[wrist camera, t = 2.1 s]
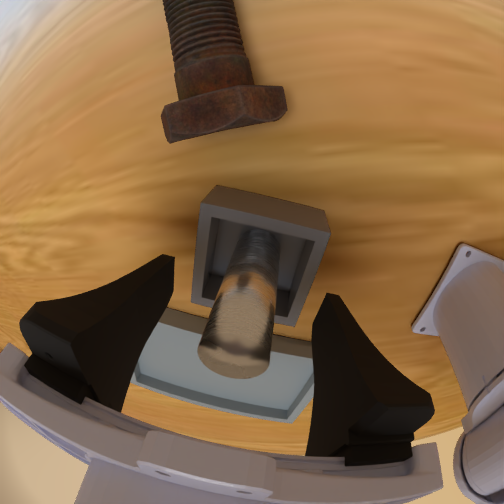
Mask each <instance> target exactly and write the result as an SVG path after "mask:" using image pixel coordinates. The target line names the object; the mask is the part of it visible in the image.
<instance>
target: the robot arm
mask: <svg viewBox="0 0 504 504" xmlns="http://www.w3.org/2000/svg"><path fill="white" fill-rule="evenodd" d="M467 252H468V253H467ZM466 253H467V254H466ZM174 262H175V257H172V256H168V255H164V254H162V255H160V256H158V257H157V258H155V259H153V260H152V261H150V262H148V263H147V264H145V265H143V266H141V267H140V268H138V269H136V270H135V271H133V272H131V273H129V274H127V275H125V276H123V277H121V278H119V279H118V280H116V281H113V282H111V283H109V284H107V285H104V286H102V287H99V288H97V289H94V290H91V291H88V292H85V293H82V294H78V295H75V296H71V297H66V298H61V299H56V300H49V301H41V302H36V303H35V304H34V305H33V306H32V307H31V308H30V310H29V311H28V312H27V313H26V314H25V315H24V316H23V317H22V319H21V320H20V323H19V324H20V330H21V332H22V335H23V337H24V339H25V340H26V342H27V344H28V346H29V348H30V350H31V351H32V355H31V356H30V357H28V356H27V355H26V354H25V353H24V352H22V351H21V350H20V349H18V348H17V347H15V346H14V345H13V344H11V343H8V344H7V345H6V347H5V348H4V349H3V351H2V352H1V353H0V401H1V402H2V404H3V405H4V406H5V407H6V408H7V409H8V410H10V411H11V412H12V413H13V414H14V415H16V416H17V417H18V418H19V419H21V420H22V421H23V422H24V423H26V424H27V425H28V426H29V427H31V428H32V429H34V430H35V431H36V432H38V433H39V434H40V435H42V436H43V437H44V438H46V439H47V440H49V441H50V442H52V443H53V444H55V445H56V446H58V447H59V448H61V449H62V450H64V451H66V452H67V453H69V454H70V455H72V456H74V457H76V458H77V459H79V460H81V461H82V462H84V463H86V464H88V465H89V467H88V470H87V472H86V474H85V477H84V479H83V482H82V485H81V487H80V490H79V492H78V495H77V497H76V500H75V503H74V504H403V503H407V502H410V501H413V500H415V499H418V498H421V497H423V496H425V495H428V494H431V493H433V492H435V491H438V490H440V489H442V488H443V480H442V473H441V466H440V461H439V455H438V450H437V444H436V442H433V443H427V444H421V445H416V446H414V447H411V441H413V440H414V432H415V431H416V430H418V429H419V428H420V427H422V426H423V425H424V424H425V423H427V422H428V421H429V420H430V419H431V418H432V416H433V415H434V412H435V409H434V405H433V402H432V398H431V395H430V393H428V392H427V391H425V390H424V389H422V388H421V387H419V386H418V385H416V384H415V383H413V382H412V381H411V380H409V379H408V378H407V377H406V376H404V375H403V374H402V373H401V372H400V371H398V370H397V369H396V368H395V367H394V366H393V365H392V364H391V363H390V362H389V361H388V360H387V359H386V358H385V357H384V356H383V355H382V354H381V353H380V352H379V351H378V349H377V348H376V347H375V346H374V345H373V344H372V342H371V341H370V340H369V338H368V337H367V336H366V335H365V333H364V332H363V330H362V329H361V328H360V326H359V325H358V323H357V322H356V320H355V319H354V317H353V316H352V314H351V313H350V311H349V310H348V308H347V307H346V305H345V304H344V302H343V301H342V299H341V298H340V296H339V295H335V294H330V293H326V296H325V298H324V300H323V302H322V304H321V307H320V309H319V311H318V313H317V315H316V317H315V320H314V322H313V325H312V342H311V343H312V358H313V373H314V397H313V409H312V418H311V426H310V432H309V439H308V444H307V449H306V454H305V456H297V455H285V454H276V453H268V452H260V451H254V450H247V449H242V448H236V447H231V446H226V445H221V444H217V443H212V442H208V441H204V440H200V439H196V438H192V437H189V436H185V435H182V434H178V433H175V432H172V431H169V430H165V429H162V428H159V427H156V426H154V425H151V424H148V423H145V422H142V421H140V420H137V419H135V418H132V417H129V416H127V415H125V414H122V413H121V410H122V407H123V403H124V400H125V396H126V393H127V390H128V387H129V384H130V381H131V378H132V376H133V373H134V370H135V367H136V365H137V362H138V360H139V357H140V355H141V353H142V350H143V348H144V346H145V344H146V342H147V340H148V339H149V337H150V335H151V333H152V332H153V330H154V328H155V327H156V325H157V323H158V322H159V320H160V318H161V316H162V315H163V313H164V311H165V309H166V308H167V305H168V303H169V301H170V298H171V296H172V293H173V290H174ZM412 331H413V332H414V333H419V334H426V335H434V336H440V339H441V341H442V343H443V345H444V348H445V350H446V352H447V355H448V357H449V360H450V362H451V364H452V367H453V370H454V372H455V375H456V377H457V380H458V383H459V385H460V388H461V391H462V394H463V397H464V400H465V403H466V406H467V409H468V414H467V415H466V416H465V417H464V418H463V419H462V420H461V421H462V425H463V429H464V432H463V433H462V434H461V436H460V437H459V439H458V441H457V444H456V447H455V451H454V459H453V469H454V476H455V479H456V483H457V485H458V487H459V489H460V490H461V492H462V493H463V494H464V495H465V496H466V497H467V498H469V499H470V500H472V501H473V502H475V503H476V504H504V260H501V259H499V258H497V257H495V256H493V255H490V254H488V253H486V252H484V251H481V250H479V249H477V248H474V247H472V246H469V245H467V244H464V243H463V244H460V245H459V246H458V248H457V250H456V252H455V254H454V256H453V258H452V260H451V262H450V263H449V265H448V267H447V269H446V271H445V273H444V275H443V276H442V278H441V280H440V282H439V284H438V285H437V287H436V289H435V290H434V292H433V294H432V295H431V297H430V299H429V300H428V302H427V304H426V305H425V307H424V308H423V310H422V311H421V313H420V314H419V316H418V317H417V319H416V320H415V322H414V323H413V325H412Z"/></svg>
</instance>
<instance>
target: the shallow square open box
mask: <svg viewBox="0 0 504 504" xmlns="http://www.w3.org/2000/svg"><path fill="white" fill-rule="evenodd" d="M254 229H260V230H265V231H267V232H269V233H271V234H272V235H274V236H275V237H276V239H277V240H278V242H279V244H280V263H279V275H278V286H277V297H276V307H275V317H274V323H278V324H283V325H288V326H293V327H295V324H296V322H297V320H298V317H299V315H300V312H301V310H302V308H303V305H304V303H305V300H306V298H307V295H308V293H309V290H310V288H311V285H312V283H313V280H314V278H315V275H316V273H317V270H318V267H319V265H320V262H321V259H322V257H323V254H324V251H325V249H326V246H327V243H328V240H329V237H330V235H331V232H330V228H329V225H328V222H327V218H326V215H325V212H324V210H320V209H316V208H313V207H309V206H305V205H301V204H297V203H293V202H289V201H285V200H281V199H277V198H273V197H268V196H264V195H260V194H255V193H251V192H247V191H242V190H237V189H233V188H228V187H223V186H218V185H216V186H215V187H214V189H213V190H212V191H211V192H210V193H209V194H208V195H207V196H206V197H205V198H204V199H203V201H202V202H201V205H200V213H199V221H198V230H197V239H196V249H195V259H194V270H193V281H192V294H191V302H192V303H195V304H199V305H203V306H207V307H210V308H212V307H213V304H214V302H215V299H216V296H217V294H218V291H219V288H220V286H221V283H222V280H223V278H224V275H225V272H226V270H227V267H228V265H229V262H230V259H231V257H232V254H233V251H234V249H235V246H236V244H237V241H238V239H239V238H240V236H241V235H242V234H244V233H245V232H247V231H250V230H254Z"/></svg>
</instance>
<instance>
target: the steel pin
mask: <svg viewBox="0 0 504 504" xmlns="http://www.w3.org/2000/svg"><path fill="white" fill-rule="evenodd" d="M279 263H280V244H279V242H278V240H277V239H276V237H275V236H274V235H272V234H271V233H269V232H267V231H265V230H260V229H254V230H250V231H247V232H245V233H244V234H242V235H241V236H240V238H239V239H238V241H237V244H236V246H235V249H234V251H233V254H232V257H231V259H230V262H229V265H228V267H227V270H226V272H225V275H224V278H223V280H222V283H221V286H220V288H219V291H218V294H217V296H216V299H215V302H214V304H213V307H212V310H211V313H210V315H209V318H208V321H207V323H206V326H205V329H204V332H203V334H202V337H201V340H200V342H199V345H198V349H197V353H198V356H199V359H200V360H201V362H202V363H203V364H204V365H205V366H206V367H207V368H208V369H210V370H211V371H213V372H215V373H217V374H219V375H222V376H225V377H228V378H234V379H249V378H254V377H257V376H259V375H261V374H263V373H264V372H265V371H266V370H267V369H268V367H269V364H270V356H271V346H272V337H273V327H274V317H275V307H276V297H277V286H278V275H279Z"/></svg>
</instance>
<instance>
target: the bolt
mask: <svg viewBox="0 0 504 504" xmlns="http://www.w3.org/2000/svg"><path fill="white" fill-rule="evenodd" d="M163 2H164V3H163V5H164V10H165V16H166V21H167V23H168V29H169V33H170V34H169V36H170V44H171V50H172V55H173V61H174V62H175V63H174V67H175V74H174V77H175V82H176V88H177V93H178V98H179V101H177V102H174V103H171V104H168V105H165V106H164V109H163V111H162V114H161V119H162V123H163V128H164V132H165V136H166V139H167V141H168V142H169V143H174V142H177V141H181V140H185V139H190V138H194V137H198V136H202V135H206V134H210V133H215V132H219V131H223V130H228V129H233V128H239V127H244V126H249V125H254V124H260V123H265V122H271V121H277V120H279V119H280V118H281V117H282V116H283V115H284V114H285V112H286V111H287V105H286V100H285V94H284V89H283V87H282V86H263V85H254V83H253V78H252V73H251V69H250V64H249V60H248V58H247V57H246V54H245V53H244V52H243V51H244V48H243V46H242V44H243V42H242V40H241V35H240V29H239V28H238V27H239V26H238V22H237V17H236V12H235V7H234V4H233V1H232V0H163Z"/></svg>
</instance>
